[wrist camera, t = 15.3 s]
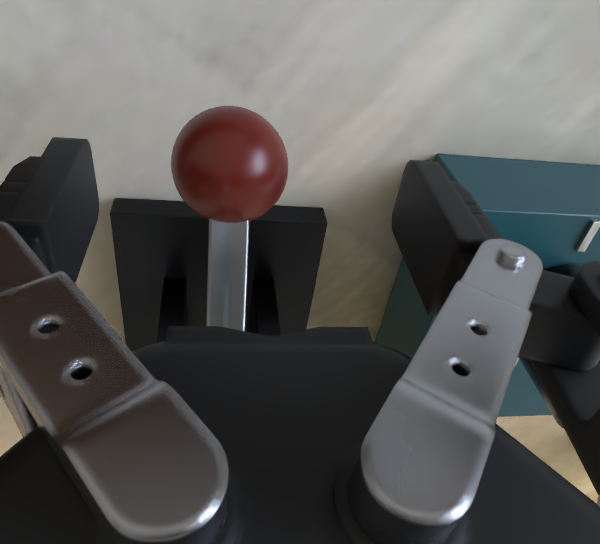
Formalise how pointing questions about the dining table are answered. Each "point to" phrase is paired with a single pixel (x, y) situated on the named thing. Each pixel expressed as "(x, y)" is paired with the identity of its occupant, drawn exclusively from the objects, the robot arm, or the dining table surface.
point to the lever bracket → (194, 268)
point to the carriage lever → (229, 195)
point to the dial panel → (515, 227)
